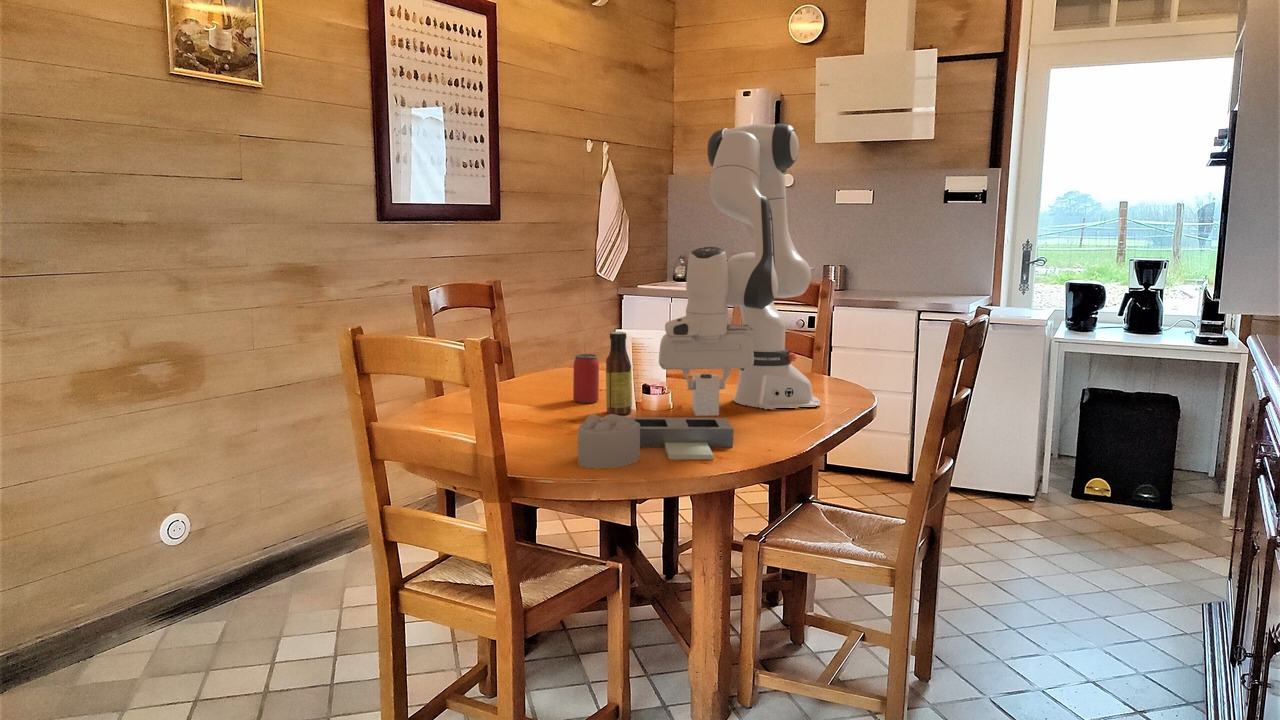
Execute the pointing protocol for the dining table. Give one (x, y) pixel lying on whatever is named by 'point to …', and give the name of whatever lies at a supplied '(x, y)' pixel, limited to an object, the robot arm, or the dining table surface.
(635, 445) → the lumpy-topped squat cylinder
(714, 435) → the rail
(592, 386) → the beer can
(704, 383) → the grey square post
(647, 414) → the dining table surface
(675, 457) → the pad
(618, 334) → the sauce bottle
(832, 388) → the dining table surface
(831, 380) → the dining table surface
